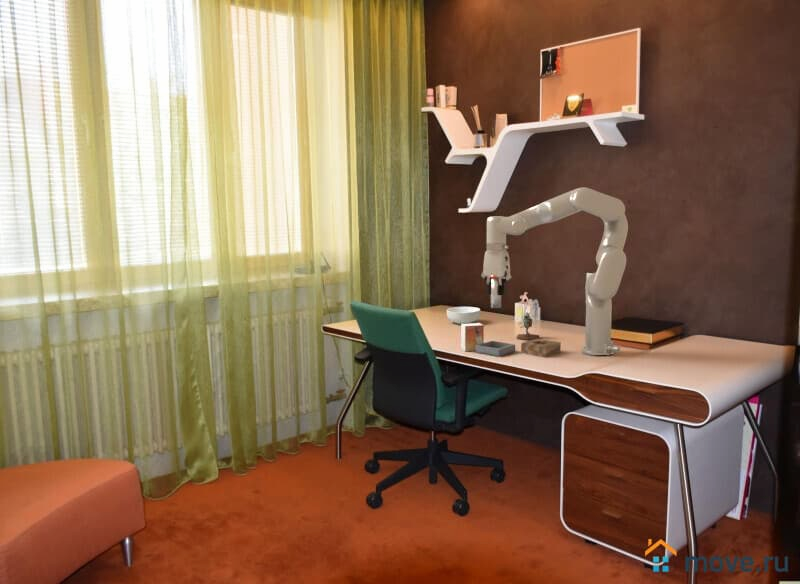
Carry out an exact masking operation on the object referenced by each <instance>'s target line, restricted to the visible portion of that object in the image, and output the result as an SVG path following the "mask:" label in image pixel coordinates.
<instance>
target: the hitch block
mask: <svg viewBox="0 0 800 584" xmlns="http://www.w3.org/2000/svg"><path fill="white" fill-rule="evenodd" d="M520 344H521V345H520V346H521V347H520V349H521V351H520V353H521V354H524V353H525V355H531V356H535V357H542V358H546V357H550V356H553V355H555V354H559V353H561V341H556V340H555V341H554V340H548V339H542V338H539V339H533V340H530V341H523V342H521V343H520Z"/></svg>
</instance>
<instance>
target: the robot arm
mask: <svg viewBox="0 0 800 584" xmlns="http://www.w3.org/2000/svg"><path fill="white" fill-rule="evenodd" d="M581 211H583V212H586V213H588V214H591V215H593V216H596V217H598V218H600V219H601V220H602V221H603V224H604V229H603V230H604V231H603V234H602V236H601V237H602V238H601V241H600V244H599V247H598V250H597V252H596V256H595V261H596V265H597V270H596V271H595V272H594V273H591V274H590V275H589V276H588V277H587V279H586V281H585V287H584V288H585V290H584V291H585V339H584V340H585V341H584V342H585V343H584V346H583V347H582V348H581V349H580V351H581V353H582V354H584V355H588V356H595V355H607V356H609V355H608V354H612V353H614V352H618V353H619V352H620V350H621V347H620V345H615V344H614V341H612V340H611V339H612V335H611V334H612V311H613V310H612V309H613V308H612V307H613V306H612V305H613V304H612V298H613V297H614V296H615V295H616V294H617V292H618V290H619V287H620V284H621V282H622V278H623V275H624V272H625V269H626V265H627V256H626V253H625V252H624V251H623V250H624V246H625V244H626V239H627V237H628V230H629V224H628V219H627V215H626V214H625V213H626V206H625V204H624V202H623V201H622V200H621V199H619V198H617V197H613V196H611V195H608V194H605V193H602V192H600V191H597V190H594V189H592V188H589V187H584V186H583V187H579V188H575V189H573V190H569V191H567V192H564V193H562V194H561V195H557V196H554V197H552V198H550V199H548V200H545V201H543V202H541V203H539V204H536V205H535V206H532V207H529V208H527V209H525V210H523V211H520V212H517V213H515V214H512V215H510V216H504V215H503V216H501V215H498V216H497V215H494V216H491V215H490V216H489V217H487V219H486V251H484V258H483V270H482V272H481V274H480V276H481V277H482V278H483V279H484V281H485V282H486V285H487V294H488V295H491V277H489V276H490V275H493V276H496V277H499V278H498V280H499V285H498V295H501V296H504V295H505V286H506V283H508V281H510V280H511V279H512V275H511V263H510V261H511V260H510V255H509V252H508V251H507V250H508V249H509V245H507V235H510V236H511V235H513V236H520V235H522V234H524V233H525V232H526V231H527V230H530V229H532V228H534V227H537V226H541V225H543V224H551V223H554V222H557V221H560V220H562V219H563V218H564V219H565V218H566V217H569V216H572V215H574V214H577V213H579V212H581ZM614 354H615V353H614ZM612 355H613V354H612Z"/></svg>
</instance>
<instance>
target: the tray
mask: <svg viewBox="0 0 800 584" xmlns="http://www.w3.org/2000/svg"><path fill="white" fill-rule="evenodd" d="M515 352H516V344H514V343H509V342H502V341H497V340H490V341H487V342H484V343H482V344H479V345H476V351H475V353H476V354H482V355H486V356H492V357H497V358H501V357H503V356H507V355H510V354H513V353H515Z"/></svg>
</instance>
